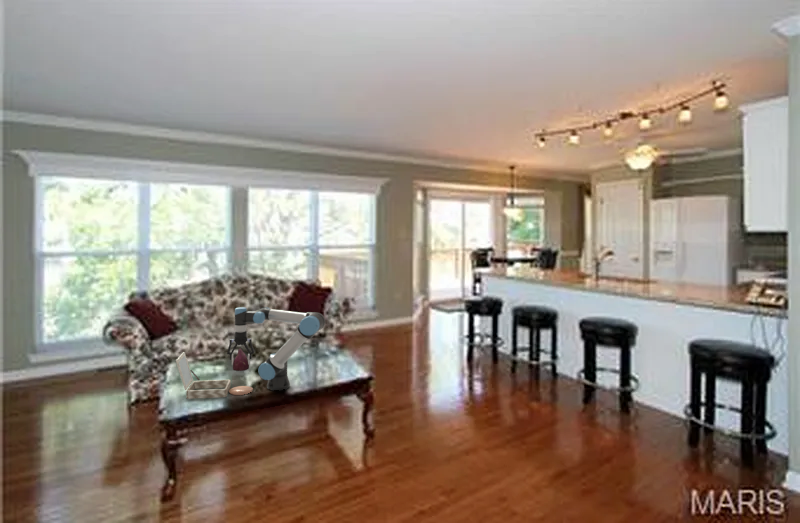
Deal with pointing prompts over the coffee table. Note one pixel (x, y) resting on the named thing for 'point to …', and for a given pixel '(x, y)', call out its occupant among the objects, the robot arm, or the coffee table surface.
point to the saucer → (240, 390)
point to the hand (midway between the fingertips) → (240, 364)
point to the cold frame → (208, 384)
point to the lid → (184, 370)
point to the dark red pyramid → (240, 361)
